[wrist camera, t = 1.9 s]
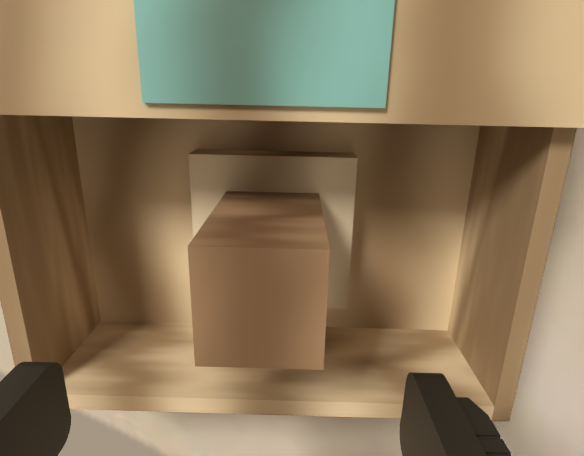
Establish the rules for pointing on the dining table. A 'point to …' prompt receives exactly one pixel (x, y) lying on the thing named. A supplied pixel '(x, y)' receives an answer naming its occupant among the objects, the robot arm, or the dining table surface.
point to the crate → (284, 187)
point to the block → (260, 282)
